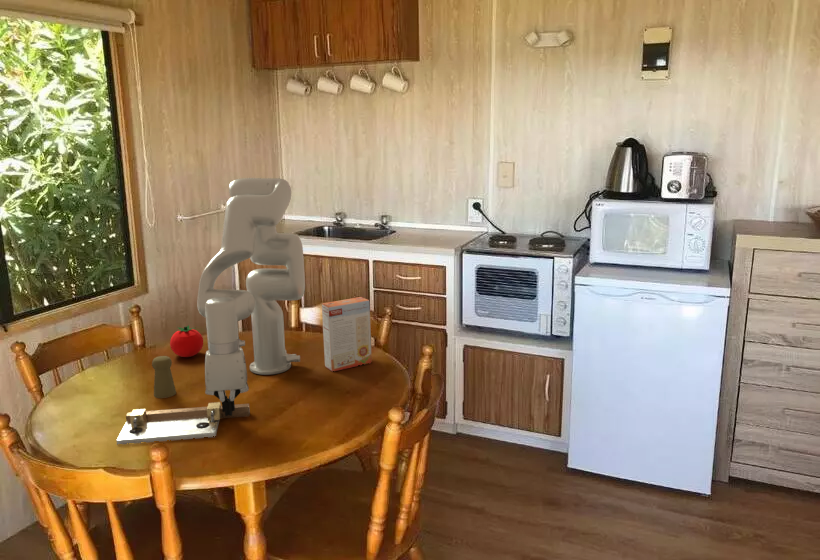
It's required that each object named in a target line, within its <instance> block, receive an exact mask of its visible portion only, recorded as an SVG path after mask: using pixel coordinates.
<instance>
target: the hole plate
mask: <svg viewBox="0 0 820 560" xmlns="http://www.w3.org/2000/svg"><path fill="white" fill-rule="evenodd" d="M207 407H208V406H201V407H200V406H198V407H185V408H172V409H171V408H169V409H159V410H157V409H156V410H147V409H146V408H140V409H139V408H136V409H132V411H130V412H127V413H126V415H125V418H126V419H125V420H126V422H125V424H124V425H123V427H122V429H121V431H120V433H119V435H118V436H117V439H116V445H117V446H119V445H118V444H122V445H130V444H129V443H134V444H142V443H141V442H146V443H155V442H154V441H159V442H167V440H169V441H168V442H170V440H171V441H181V439H183V440H194V439H193V438H195V439H204V437H208V438H216V437H217V432H218V429H219V426H220V425H219V423H220V420H214V422H211V420H209V421H208V417H207ZM250 410H251V409H250V403H241V404H240V403H239V404H235V411H232V416H230V415H229V414H228V416H225V412H223V411H222V405H221V418H220V419H230V418H231V419H232V418H243V417H250V415H251V414H250V413H251V411H250ZM213 436H214V437H213ZM215 436H216V437H215ZM127 443H128V444H127Z"/></svg>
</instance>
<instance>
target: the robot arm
mask: <svg viewBox="0 0 820 560" xmlns="http://www.w3.org/2000/svg"><path fill="white" fill-rule="evenodd" d="M228 193H229V196H230V198H229V199H228V200H227V201H226V204H225V210H224V219H223V228H222V237H221V247H220V249H219V251H218V252H217V253H216V254H215V255H214V256H213V257H212V258H211V259H210V261H208V263H207V264H206V266H205V268H204V269H203V271H202V273H201V275H200V278H199V283H198V291H197V298H196V300H197V301H196V303H197V304H196V305H197V310H198V313H199V315H201V316H202V317H203V318H205V324H206V325H205V326H206V335H207V337H206V338H207V347H208V350H206V352H205V358H204V382H205V383H204V384H205V390H204V391H205V392H204V393H205V395H209V396H214V397H216V398H217V399H218V400H219V402H221V406H222V411H223V412H225V416H228V414H229V415H230V416H232V411H235V405H236V404H235V399H236V398H237V397H238V396H239V395H240V394H243V393H247V392H248V391H249V384H248V370H247V363H246V357H245V353H244V350H243V348H242V347H243V346H244V347H245V346H246V340H242V339H240V337H239V328H238V327H239V325H238V322H239V321H243V320H246V319H247V318H249V317H250V316H251V330H252V332H251V333H252V345H253V357H254V358H253V360H254V361H253V362H251V363H250V364H249V371H250V372H251V373H253V374H257V375H264V376H270V375H278V374H281V373H284V372H286V371H288V370H290V369H291V367H292V363H293V362H294V363H300V362H301V355H297V353H292V354H291V353H287V349H286V346H285V345H286V344H285V323H284V312H283V310H282V307H281V306H280V304H279V303H278V302H277V301H298V300H301V299H302V298H303V297H304V295H305V290H306V276H305V261H304V249H303V248H304V247H303V243H302V241H301V238H300V237H299V235H297V234H294V233H281V232H280V233H279V232H278V231H277V225H279V223H280V222H281V220H282V219H283V217H284V215H285V212H286V211H287V209H288V207H289V205H290V203H291V201H292V188H291V185H290V183H289V182H288V181H287V180H286V179H284V178H280V177H279V178H274V177H273V178H271V177H270V178H269V177H268V178H266V177H265V178H264V177H263V178H262V177H244V178H243V177H242V178H237V179H234V180H232V181H230V183H229V186H228ZM249 259H250V261H251V263H253V264H255V265H259V266H283V267H285V268H268V267H267V268H257V269H253V270H251V271H249V273H248V274H247V275H246V278H245V287H246V290H245V289H244V290H243V289H214V288H215V283H216V281H217V279H218V277H220V275H221V274H223V272H224V271H226V270H227V269H229V268H230V267H233V266H234V265H237V264H239V263H242V262H245V261H246V260H249ZM226 391H230V392H229V395H228V396H227V393H226Z"/></svg>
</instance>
